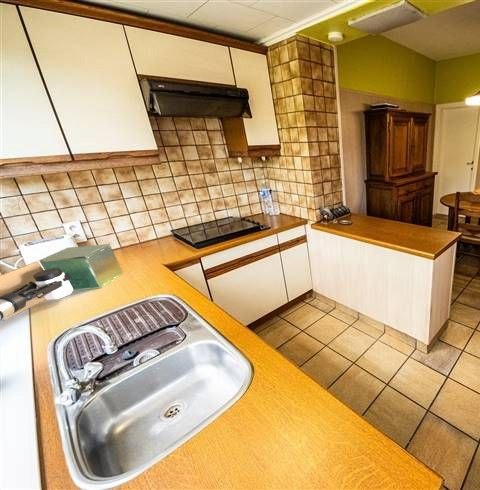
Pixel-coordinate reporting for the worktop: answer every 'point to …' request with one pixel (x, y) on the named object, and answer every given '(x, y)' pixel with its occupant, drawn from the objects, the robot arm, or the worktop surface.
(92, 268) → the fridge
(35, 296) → the robot arm
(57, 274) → the jar
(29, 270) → the fridge door
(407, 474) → the worktop surface
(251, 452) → the worktop surface
